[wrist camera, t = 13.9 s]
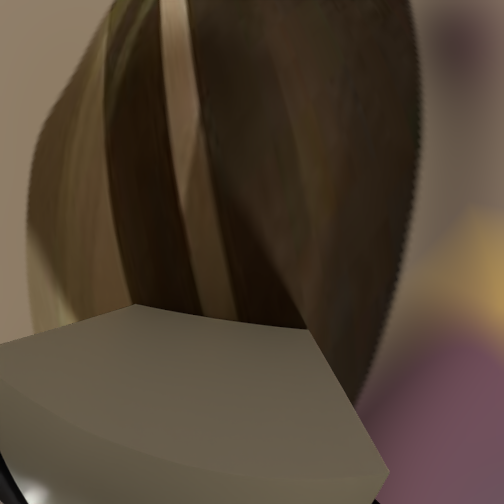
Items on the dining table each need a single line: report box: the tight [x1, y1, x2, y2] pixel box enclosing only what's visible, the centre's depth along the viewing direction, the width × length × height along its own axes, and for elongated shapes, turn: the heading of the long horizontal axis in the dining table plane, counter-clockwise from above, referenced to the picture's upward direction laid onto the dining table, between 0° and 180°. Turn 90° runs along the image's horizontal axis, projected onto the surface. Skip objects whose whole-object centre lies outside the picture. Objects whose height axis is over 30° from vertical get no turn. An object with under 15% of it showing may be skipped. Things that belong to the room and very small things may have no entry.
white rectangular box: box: [0, 304, 389, 504], centre depth 7 cm, size 8×8×9 cm
